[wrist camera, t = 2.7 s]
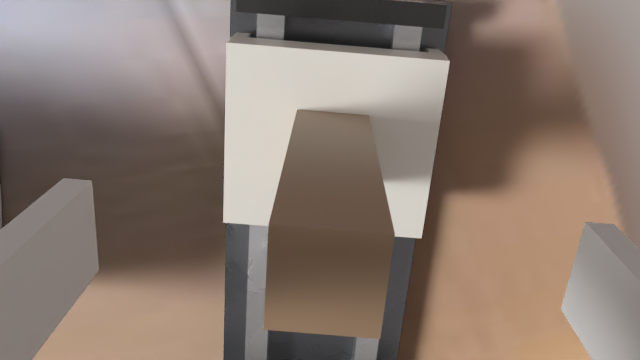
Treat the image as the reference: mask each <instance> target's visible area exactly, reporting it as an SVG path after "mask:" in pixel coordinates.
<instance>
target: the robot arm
mask: <svg viewBox="0 0 640 360" xmlns="http://www.w3.org/2000/svg"><path fill="white" fill-rule="evenodd" d="M98 271H99V263H98V250H97V237H96V225H95V212H94V199H93V186H92V181H91V180H79V179H67V178H63V179H62V180H60V181H59V182H58V183H57V184H56V185H54V186H53V187H52V188H51V189H49V190H48V191H47V192H46V193H45V194H43V195H42V196H41V197H40V198H38V199H37V200H36V201H35V202H34V203H32V204H31V205H30V206H29V207H27V208H26V209H25V210H24V211H23V212H21V213H20V214H19V215H18V216H17V217H15V218H14V219H13V220H12V221H10V222H9V223H8V224H7V225H6V226H4V227H3V228H2V229H1V230H0V360H32V359H33V357H34V356H35V355H36V353H37V352H38V351H39V350H40V348H41V347H42V346H43V344H44V343H45V342H46V340H47V339H48V338H49V336H50V335H51V334H52V332H53V331H54V330H55V328H56V327H57V326H58V324H59V323H60V322H61V320H62V319H63V318H64V316H65V315H66V314H67V312H68V311H69V310H70V308H71V307H72V306H73V304H74V303H75V302H76V300H77V299H78V298H79V296H80V295H81V294H82V292H83V291H84V290H85V289H86V287H87V286H88V285H89V283H90V282H91V281H92V279H93V278H94V277H95V275H96V274H97V273H98ZM561 310H562V312H563V314H564V315H565V317H566V318H567V320H568V322H569V323H570V325H571V327H572V328H573V330H574V331H575V333H576V335H577V336H578V338H579V339H580V341H581V343H582V344H583V346H584V348H585V349H586V351H587V352H588V354H589V356H590V357H591V359H592V360H640V250H639V249H638V248H637V247H636V246H635V245H634V244H633V243H632V242H631V241H630V240H629V239H628V238H627V237H626V236H625V235H624V234H623V233H622V232H621V231H620V230H619V229H618V228H617V227H616V226H615V225H614V224H604V223H592V222H585V225H584V228H583V232H582V235H581V239H580V242H579V246H578V250H577V253H576V257H575V260H574V264H573V267H572V271H571V275H570V278H569V282H568V285H567V289H566V292H565V296H564V300H563V303H562V307H561Z"/></svg>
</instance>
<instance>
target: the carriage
mask: <svg viewBox="0 0 640 360" xmlns="http://www.w3.org/2000/svg"><path fill="white" fill-rule="evenodd" d="M449 64H450V61H449V60H448V57H447V56H446V55H445V54H444V53H442V52H441V51H440V50H439V49H432V48H425V52H420V51H407V50H395V49H383V48H371V47H359V46H347V45H335V44H323V43H311V42H299V41H286V40H274V39H262V38H250V33H238V32H237V33H236V34H234V35H233V36H232V37H230V38H229V39H228V42H226V91H225V148H224V205H223V223H235V224H247V225H260V226H268V246H267V267H266V287H265V307H264V327H263V330H274V331H286V332H299V333H311V334H324V335H337V336H349V337H362V338H374V339H380V337H381V330H382V323H383V315H384V308H385V301H386V294H387V287H388V280H389V273H390V266H391V258H392V251H393V244H394V237H395V236H396V237H409V238H421V239H422V233H423V227H424V220H425V214H426V208H427V202H428V195H429V189H430V183H431V177H432V170H433V164H434V158H435V152H436V145H437V139H438V133H439V126H440V120H441V114H442V108H443V101H444V95H445V89H446V83H447V76H448V70H449Z"/></svg>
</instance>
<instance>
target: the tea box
mask: <svg viewBox="0 0 640 360" xmlns="http://www.w3.org/2000/svg"><path fill="white" fill-rule="evenodd" d="M1 229H2V205H1V186H0V230H1Z"/></svg>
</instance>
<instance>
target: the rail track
mask: <svg viewBox="0 0 640 360" xmlns="http://www.w3.org/2000/svg"><path fill="white" fill-rule="evenodd" d="M451 8H452V3H450V2H447V1H440V0H231V11H230V37H232V36H233V35H234V34H236V33H237V32H238V33H250V38H262V39H274V40H286V41H299V42H311V43H323V44H335V45H347V46H359V47H371V48H383V49H395V50H407V51H420V52H425V48H432V49H439V50H440V51H441V52H442V53H445V46H446V40H447V33H448V27H449V20H450V14H451ZM415 239H416V238H409V237H396V236H395V237H394V244H393V251H392V258H391V266H390V273H389V280H388V287H387V294H386V301H385V308H384V315H383V323H382V330H381V337H380V339H374V338H362V337H349V336H337V335H324V334H311V333H299V332H286V331H274V330H263V327H264V307H265V287H266V267H267V246H268V226H260V225H247V224H235V223H226V264H225V314H224V360H397V355H398V348H399V342H400V335H401V329H402V323H403V316H404V310H405V303H406V297H407V290H408V284H409V278H410V271H411V265H412V258H413V252H414V245H415Z"/></svg>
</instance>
